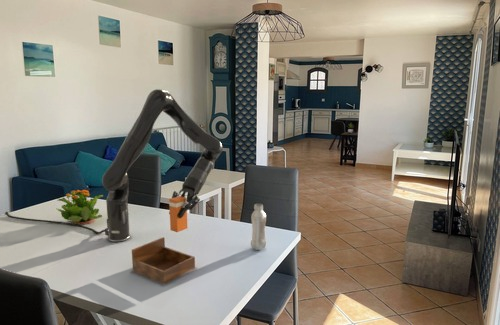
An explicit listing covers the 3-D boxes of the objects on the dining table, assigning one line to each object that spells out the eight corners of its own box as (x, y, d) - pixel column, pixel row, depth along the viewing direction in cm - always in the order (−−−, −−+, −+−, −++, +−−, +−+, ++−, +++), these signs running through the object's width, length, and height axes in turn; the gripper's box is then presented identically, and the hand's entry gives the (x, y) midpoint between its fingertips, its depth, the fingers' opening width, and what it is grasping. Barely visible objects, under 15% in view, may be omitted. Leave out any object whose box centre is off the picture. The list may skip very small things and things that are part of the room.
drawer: (132, 271, 143) (131, 249, 142) (164, 257, 156) (163, 237, 154) (164, 285, 133) (163, 261, 132) (195, 268, 146) (194, 247, 144)
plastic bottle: (250, 246, 167) (250, 202, 164) (265, 245, 168) (265, 202, 164) (251, 252, 161) (251, 207, 158) (267, 251, 162) (267, 206, 158)
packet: (170, 230, 151) (168, 199, 149) (180, 226, 156) (179, 195, 153) (177, 232, 149) (176, 200, 146) (187, 228, 153) (186, 197, 151)
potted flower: (117, 220, 202) (115, 188, 199) (77, 233, 182) (74, 199, 179) (89, 212, 215) (86, 182, 212) (48, 224, 196) (45, 192, 193)
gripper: (178, 173, 158) (157, 208, 151) (203, 177, 150) (182, 214, 143) (187, 183, 164) (167, 217, 156) (212, 188, 155) (192, 224, 148)
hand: (174, 215), depth 149 cm, fingers closed on packet, 4 cm apart
